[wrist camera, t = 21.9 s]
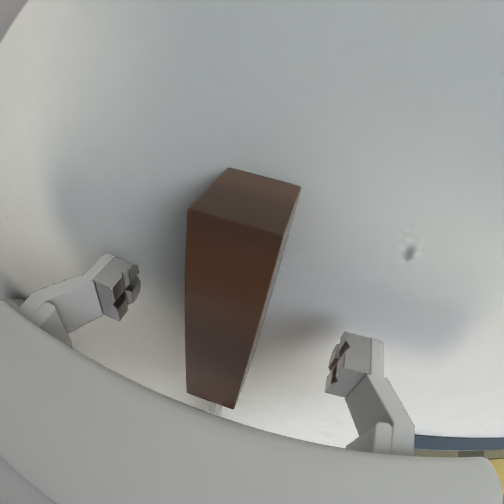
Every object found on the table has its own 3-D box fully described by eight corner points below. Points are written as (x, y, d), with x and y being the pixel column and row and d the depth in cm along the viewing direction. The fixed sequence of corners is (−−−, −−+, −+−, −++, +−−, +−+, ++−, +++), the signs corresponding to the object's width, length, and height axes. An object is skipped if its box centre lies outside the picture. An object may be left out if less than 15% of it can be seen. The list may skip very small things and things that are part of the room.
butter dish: (401, 433, 17) (401, 448, 16) (526, 436, 15) (527, 446, 14) (346, 466, 23) (344, 477, 22) (464, 471, 21) (464, 480, 20)
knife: (228, 167, 10) (186, 208, 7) (301, 186, 9) (283, 236, 7) (202, 417, 22) (189, 447, 20) (230, 426, 22) (218, 457, 20)
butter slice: (484, 459, 16) (484, 497, 13) (507, 457, 15) (508, 492, 12) (450, 475, 19) (448, 509, 16) (475, 474, 18) (474, 505, 15)
